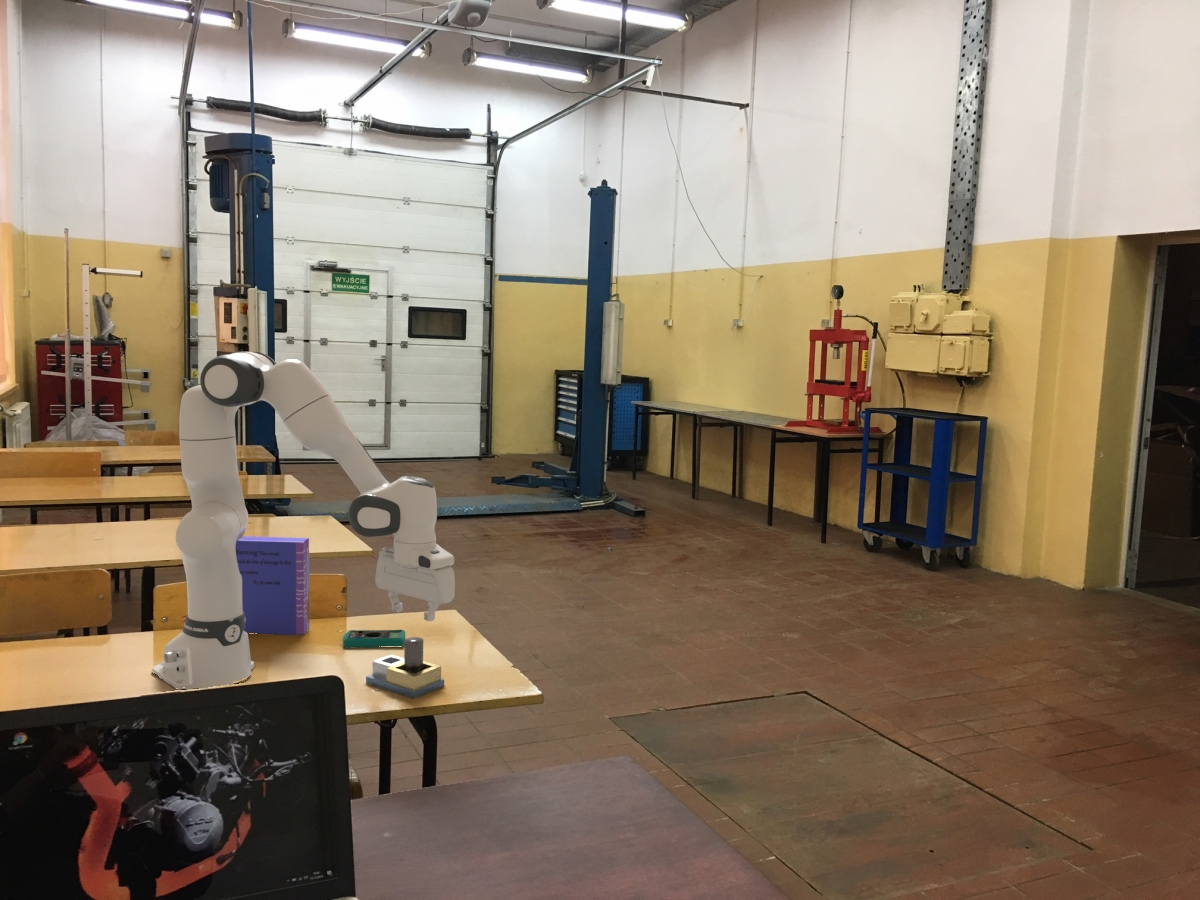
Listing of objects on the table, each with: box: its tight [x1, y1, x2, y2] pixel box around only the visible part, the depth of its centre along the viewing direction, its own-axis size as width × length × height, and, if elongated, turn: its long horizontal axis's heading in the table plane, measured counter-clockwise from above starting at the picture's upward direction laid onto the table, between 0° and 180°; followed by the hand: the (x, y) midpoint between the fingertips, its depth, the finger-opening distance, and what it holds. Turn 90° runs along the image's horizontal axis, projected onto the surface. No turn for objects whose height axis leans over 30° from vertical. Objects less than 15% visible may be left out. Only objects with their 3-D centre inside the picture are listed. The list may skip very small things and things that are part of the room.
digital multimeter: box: [342, 629, 406, 649], centre depth 235 cm, size 7×15×3 cm, turn 97°
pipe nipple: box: [403, 636, 424, 674], centre depth 206 cm, size 4×4×9 cm
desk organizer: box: [365, 654, 445, 699], centre depth 208 cm, size 14×9×4 cm, turn 57°
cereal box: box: [235, 535, 311, 636], centre depth 240 cm, size 17×5×24 cm, turn 91°
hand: (413, 615), depth 205 cm, fingers open, 8 cm apart
